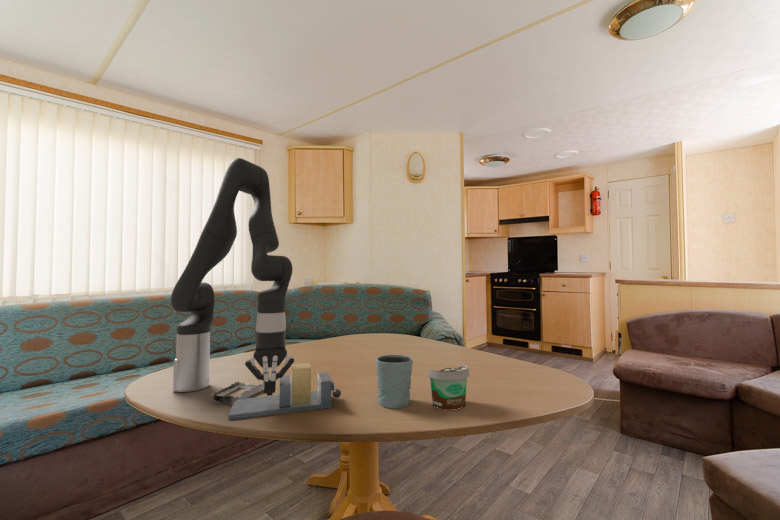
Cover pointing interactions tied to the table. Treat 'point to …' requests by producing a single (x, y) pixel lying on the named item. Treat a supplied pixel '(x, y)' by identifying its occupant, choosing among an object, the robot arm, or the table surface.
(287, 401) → the sliding jaw
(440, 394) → the food container
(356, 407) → the table surface
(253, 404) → the vise base
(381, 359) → the blue embossed cup
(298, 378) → the brass block
